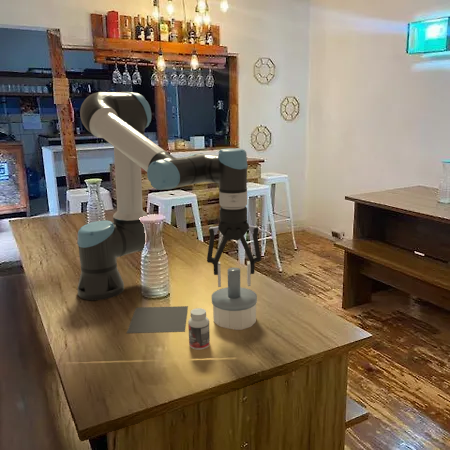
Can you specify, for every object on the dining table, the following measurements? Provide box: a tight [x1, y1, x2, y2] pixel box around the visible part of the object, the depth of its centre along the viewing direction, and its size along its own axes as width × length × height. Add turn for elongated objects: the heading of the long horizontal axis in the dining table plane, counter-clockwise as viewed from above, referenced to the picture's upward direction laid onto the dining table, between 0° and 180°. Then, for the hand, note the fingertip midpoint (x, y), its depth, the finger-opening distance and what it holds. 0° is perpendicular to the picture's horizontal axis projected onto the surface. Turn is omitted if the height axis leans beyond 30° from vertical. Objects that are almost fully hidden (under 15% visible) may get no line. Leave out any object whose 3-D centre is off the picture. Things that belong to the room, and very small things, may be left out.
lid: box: [211, 267, 258, 311], centre depth 129 cm, size 13×13×10 cm
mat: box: [126, 305, 189, 334], centre depth 132 cm, size 16×16×1 cm
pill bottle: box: [187, 307, 211, 351], centre depth 117 cm, size 5×5×10 cm
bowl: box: [212, 303, 257, 331], centre depth 131 cm, size 12×12×6 cm
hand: (234, 284), depth 129 cm, fingers open, 8 cm apart
